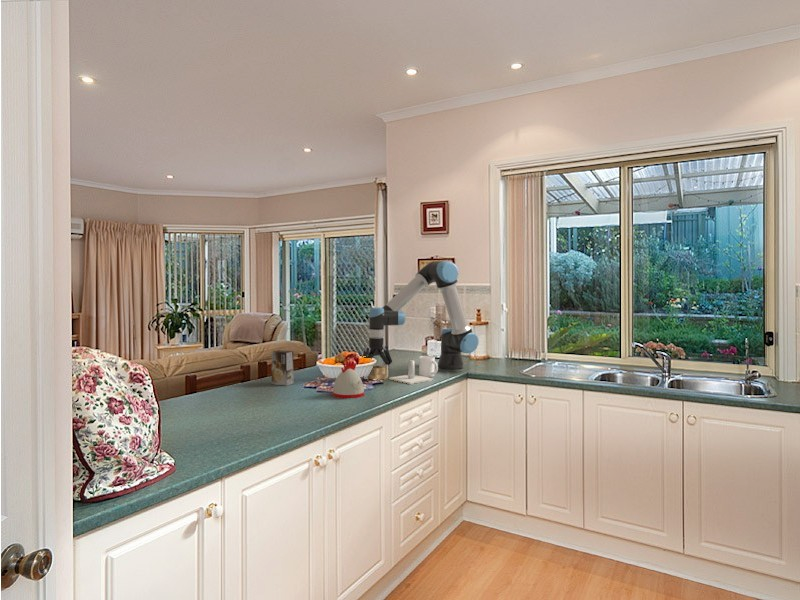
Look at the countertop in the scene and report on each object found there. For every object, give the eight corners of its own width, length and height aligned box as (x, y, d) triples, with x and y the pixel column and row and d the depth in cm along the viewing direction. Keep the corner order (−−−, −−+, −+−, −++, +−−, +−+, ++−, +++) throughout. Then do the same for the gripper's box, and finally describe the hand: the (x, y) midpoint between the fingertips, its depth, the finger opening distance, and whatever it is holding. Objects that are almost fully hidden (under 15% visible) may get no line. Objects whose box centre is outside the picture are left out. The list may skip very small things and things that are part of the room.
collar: (376, 376, 275) (377, 365, 275) (386, 379, 270) (386, 367, 269) (365, 378, 270) (365, 367, 270) (374, 380, 264) (374, 369, 264)
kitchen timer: (370, 395, 233) (370, 361, 232) (347, 400, 222) (347, 365, 222) (349, 390, 242) (349, 358, 241) (326, 394, 232) (326, 361, 231)
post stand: (411, 375, 279) (412, 357, 278) (433, 380, 267) (433, 361, 266) (389, 379, 268) (389, 360, 268) (410, 384, 256) (410, 364, 256)
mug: (442, 377, 276) (443, 358, 275) (431, 379, 270) (431, 359, 270) (426, 374, 285) (427, 355, 284) (415, 375, 279) (416, 356, 279)
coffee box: (294, 383, 255) (294, 351, 254) (286, 386, 249) (286, 352, 248) (278, 381, 259) (278, 349, 258) (270, 384, 253) (270, 351, 252)
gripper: (389, 335, 280) (389, 374, 281) (352, 338, 263) (352, 380, 264) (399, 336, 274) (398, 376, 275) (361, 339, 258) (361, 382, 259)
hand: (375, 378), depth 270 cm, fingers open, 13 cm apart
